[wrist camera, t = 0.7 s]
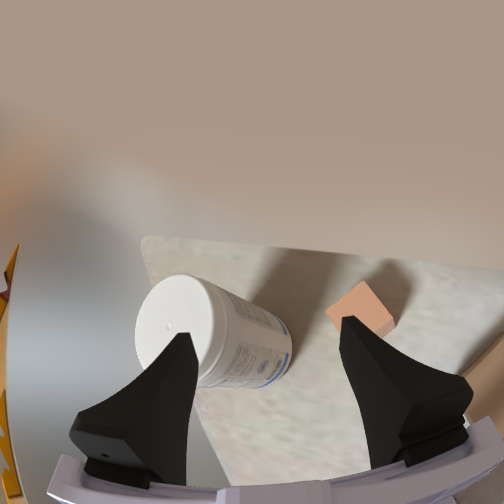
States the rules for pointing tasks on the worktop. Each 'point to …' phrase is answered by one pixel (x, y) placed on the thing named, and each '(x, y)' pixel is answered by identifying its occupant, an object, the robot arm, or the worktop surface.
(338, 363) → the worktop surface
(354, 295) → the orange-tan cube
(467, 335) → the worktop surface
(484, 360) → the walnut block
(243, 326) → the supplement tub
